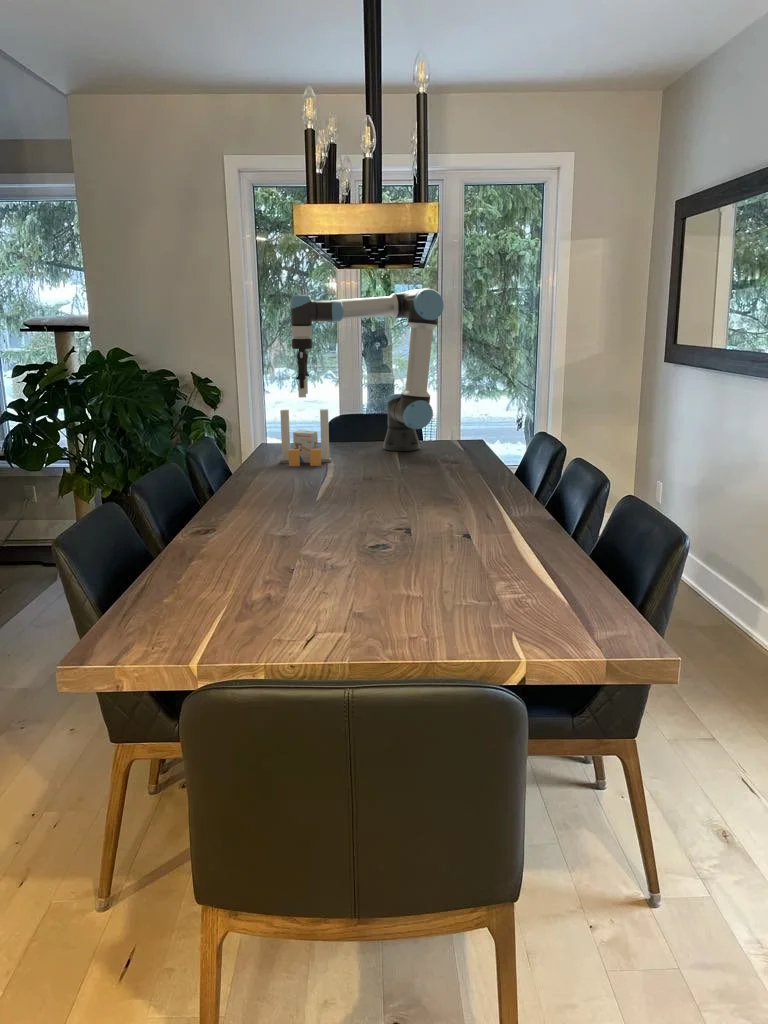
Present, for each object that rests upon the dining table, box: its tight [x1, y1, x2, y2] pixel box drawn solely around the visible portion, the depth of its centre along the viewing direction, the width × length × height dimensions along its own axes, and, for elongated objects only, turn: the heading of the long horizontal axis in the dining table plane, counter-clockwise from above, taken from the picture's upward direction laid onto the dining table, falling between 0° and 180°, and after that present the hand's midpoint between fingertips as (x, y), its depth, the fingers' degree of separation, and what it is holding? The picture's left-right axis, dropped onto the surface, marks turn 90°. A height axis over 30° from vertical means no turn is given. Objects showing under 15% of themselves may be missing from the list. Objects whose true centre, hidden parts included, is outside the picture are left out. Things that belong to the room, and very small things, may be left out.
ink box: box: [292, 429, 319, 464], centre depth 295 cm, size 9×5×12 cm, turn 73°
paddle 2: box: [309, 448, 322, 467], centre depth 289 cm, size 4×3×6 cm
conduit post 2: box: [319, 408, 332, 463], centre depth 294 cm, size 4×4×20 cm
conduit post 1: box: [279, 409, 291, 464], centre depth 293 cm, size 4×4×20 cm
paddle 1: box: [288, 448, 301, 467], centre depth 289 cm, size 4×3×6 cm
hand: (303, 395), depth 290 cm, fingers open, 13 cm apart
